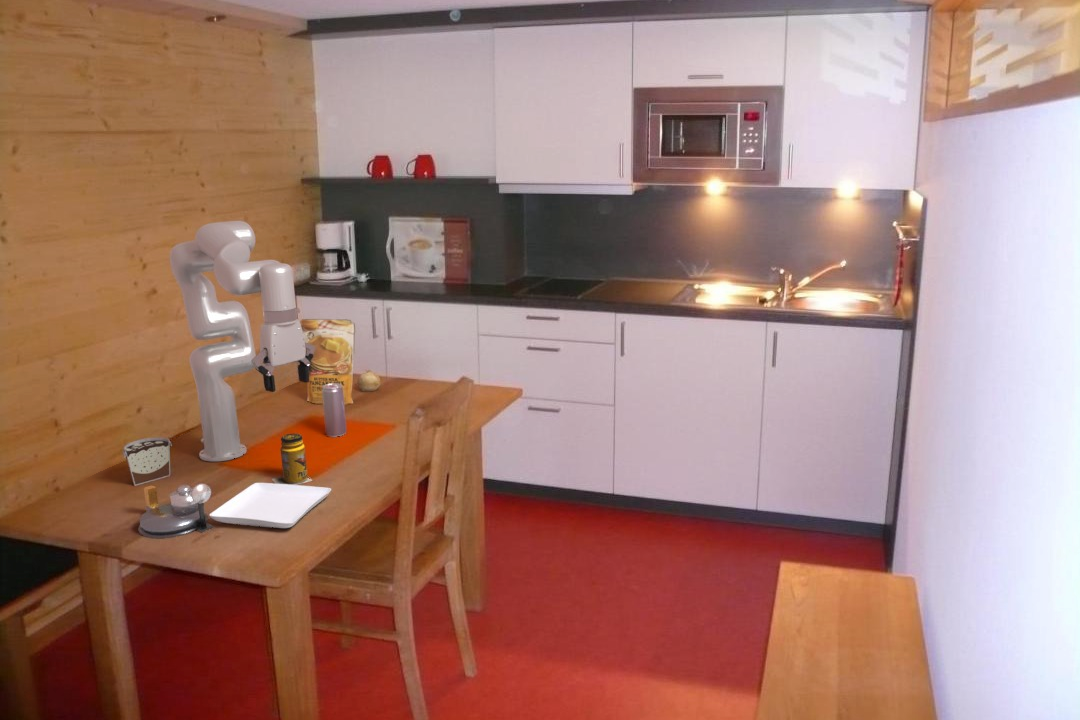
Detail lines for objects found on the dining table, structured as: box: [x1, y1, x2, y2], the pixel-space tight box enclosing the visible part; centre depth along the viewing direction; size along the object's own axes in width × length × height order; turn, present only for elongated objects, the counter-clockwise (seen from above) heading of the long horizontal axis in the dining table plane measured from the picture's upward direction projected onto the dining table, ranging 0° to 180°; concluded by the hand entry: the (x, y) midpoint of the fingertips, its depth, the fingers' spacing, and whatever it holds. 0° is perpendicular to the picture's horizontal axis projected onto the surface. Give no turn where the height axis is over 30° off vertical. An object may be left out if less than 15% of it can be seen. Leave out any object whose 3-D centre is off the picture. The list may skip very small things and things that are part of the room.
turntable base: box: [138, 512, 209, 539], centre depth 211 cm, size 15×15×1 cm
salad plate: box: [208, 482, 332, 529], centre depth 216 cm, size 21×21×3 cm
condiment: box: [271, 432, 313, 485], centre depth 235 cm, size 7×8×12 cm
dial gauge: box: [191, 483, 214, 533], centre depth 207 cm, size 3×4×11 cm
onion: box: [356, 369, 381, 393], centre depth 317 cm, size 8×8×7 cm
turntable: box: [139, 485, 206, 535], centre depth 212 cm, size 18×14×6 cm
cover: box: [169, 484, 199, 515], centre depth 213 cm, size 6×6×6 cm
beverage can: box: [322, 383, 347, 438], centre depth 270 cm, size 6×6×15 cm
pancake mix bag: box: [299, 318, 356, 406], centre depth 301 cm, size 7×19×28 cm, turn 77°
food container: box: [122, 436, 173, 487], centre depth 240 cm, size 12×6×10 cm, turn 134°
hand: (287, 386), depth 220 cm, fingers open, 9 cm apart
